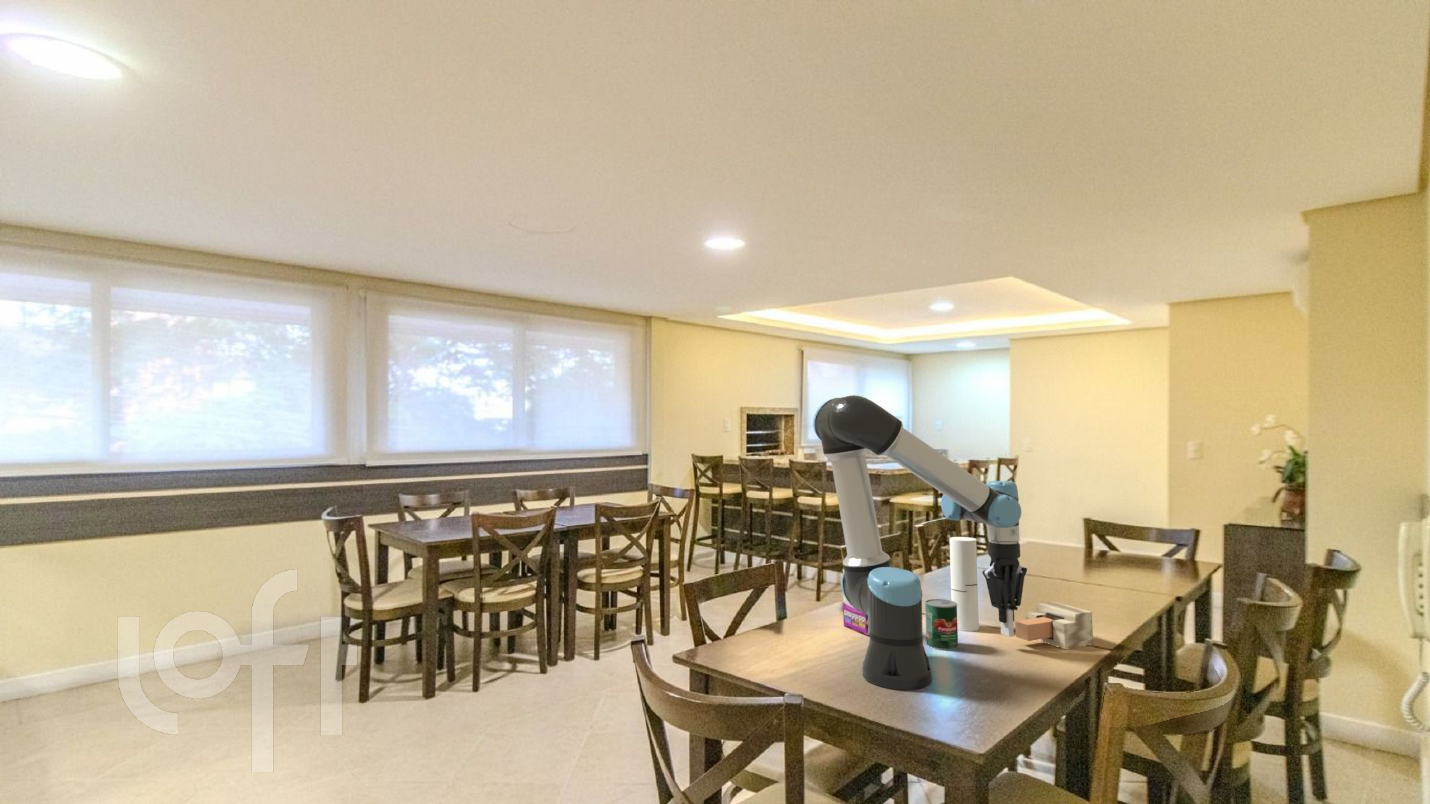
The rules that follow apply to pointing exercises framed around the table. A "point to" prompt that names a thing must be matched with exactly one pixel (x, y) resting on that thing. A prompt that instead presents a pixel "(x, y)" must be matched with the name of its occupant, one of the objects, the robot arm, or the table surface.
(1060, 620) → the sleeve
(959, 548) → the cylindrical container
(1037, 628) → the peg
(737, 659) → the table surface
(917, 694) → the table surface
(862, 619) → the candy bar box
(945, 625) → the canned tomato
